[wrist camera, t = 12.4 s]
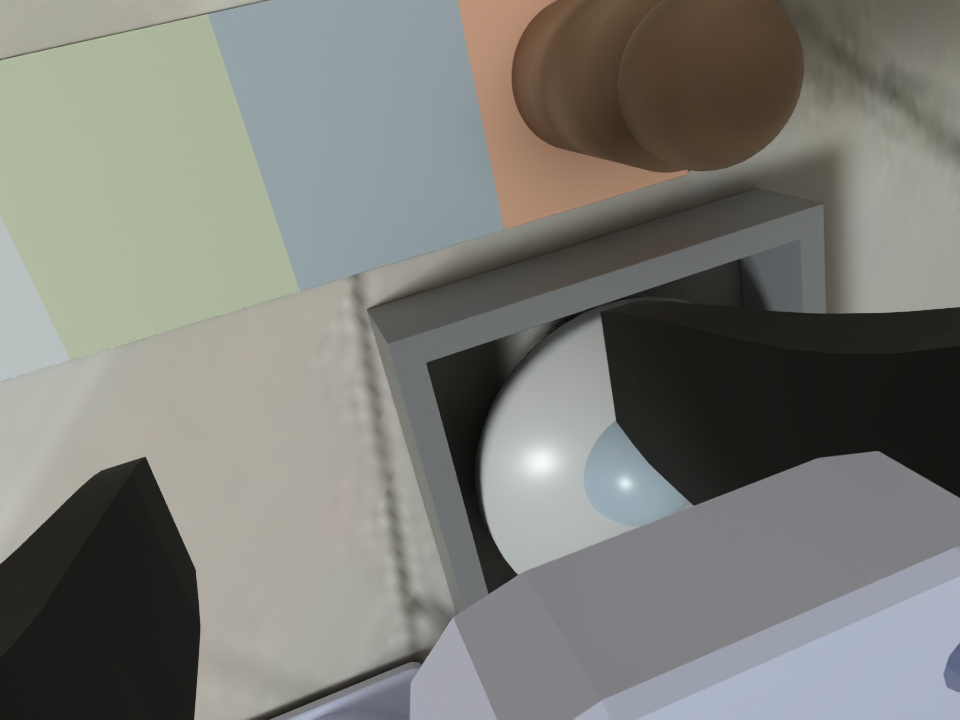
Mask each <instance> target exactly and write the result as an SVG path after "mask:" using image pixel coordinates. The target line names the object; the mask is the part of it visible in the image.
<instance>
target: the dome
mask: <svg viewBox="0 0 960 720" xmlns="http://www.w3.org/2000/svg"><path fill="white" fill-rule="evenodd" d="M651 300H652V301H672V302H684V303H691V302H688V301H685V300H680V299H674V298H668V297H638V298H630V299H624V300H620V301H616V302H612V303H609V304H605V305H602V306H600V307H597V308H595V309H592V310H590V311H587V312H585V313H583V314H581V315H579V316H577V317H576V318H574V319H572V320H570V321H568V322H567V323H565V324H563V325H562V326H561V327H559V328H558V329H556V330H555V331H554V332H552V333H551V334H549V335H548V336H547V337H545V338H544V339H543V340H542V341H541V342H540V343H539V344H538V345H536V346H535V347H534V348H533V349H532V350H531V351H530V352H529V353H528V354H527V355H526V356H525V357H524V359H523V360H522V361H521V362H520V363H519V364H518V365H517V366H516V368H515V369H514V370H513V371H512V373H511V374H510V376H509V377H508V379H507V380H506V382H505V383H504V384H503V386H502V387H501V389H500V391H499V393H498V394H497V396H496V398H495V400H494V402H493V404H492V406H491V408H490V410H489V413H488V415H487V418H486V420H485V423H484V425H483V428H482V432H481V436H480V440H479V444H478V448H477V456H476V465H475V483H476V493H477V499H478V504H479V508H480V511H481V514H482V517H483V520H484V523H485V525H486V527H487V529H488V531H489V532H490V534H491V536H492V538H493V540H494V541H495V543H496V545H497V547H498V548H499V550H500V552H501V554H502V555H503V557H504V558H505V560H506V561H507V562H508V563H509V565H510V566H511V567H512V569H513V570H514V571H515V572H516V573H517V574H518V575H519V574H521V573H522V572H524V571H527V570H529V569H532V568H534V567H537V566H540V565H542V564H545V563H547V562H550V561H553V560H555V559H558V558H560V557H563V556H566V555H568V554H571V553H573V552H576V551H579V550H581V549H584V548H586V547H589V546H591V545H594V544H597V543H599V542H602V541H604V540H607V539H610V538H612V537H615V536H617V535H620V534H623V533H625V532H628V531H630V530H633V529H636V528H638V527H641V526H643V525H646V524H649V523H651V522H654V521H656V520H659V519H661V518H664V517H667V516H669V515H672V514H674V513H677V512H680V511H682V510H685V509H687V508H690V507H693V505H692V504H691V503H690V502H689V501H688V500H687V499H686V498H685V497H684V496H682V495H681V494H680V493H679V492H678V491H677V490H676V489H675V488H674V487H673V486H672V485H671V484H670V483H669V482H668V481H666V480H665V479H664V478H663V477H662V476H661V475H660V474H659V473H658V472H657V471H656V470H655V469H654V468H653V467H652V466H651V465H650V464H649V463H648V462H647V461H646V460H645V458H644V457H643V456H642V455H641V454H640V452H639V451H638V450H637V449H636V447H635V446H634V445H633V444H632V442H631V441H630V440H629V438H628V437H627V436H626V434H625V433H624V432H623V430H622V429H621V427H620V426H619V425H618V423H617V422H616V417H615V410H614V403H613V396H612V389H611V383H610V376H609V369H608V362H607V355H606V348H605V342H604V335H603V328H602V321H601V314H600V312H602V311H606V310H609V309H612V308H615V307H618V306H621V305H625V304H628V303H631V302H634V301H651Z"/></svg>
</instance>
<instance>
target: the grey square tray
mask: <svg viewBox="0 0 960 720" xmlns="http://www.w3.org/2000/svg"><path fill="white" fill-rule="evenodd" d="M738 259H739V260H740V273H741V287H742V300H743V309H755V310H767V311H782V312H799V313H826V284H825V245H824V207H823V203H818V202H814V201H810V200H805V199H801V198H797V197H792V196H788V195H784V194H779V193H775V192H771V191H766V190H762V189H758V188H756V189H753V190H749V191H746V192H743V193H740V194H737V195H733V196H730V197H727V198H724V199H721V200H717V201H714V202H711V203H708V204H704V205H701V206H698V207H695V208H692V209H688V210H685V211H682V212H679V213H676V214H672V215H669V216H666V217H663V218H659V219H656V220H653V221H650V222H647V223H643V224H640V225H637V226H634V227H631V228H627V229H624V230H621V231H618V232H615V233H611V234H608V235H605V236H602V237H598V238H595V239H592V240H589V241H586V242H582V243H579V244H576V245H573V246H570V247H566V248H563V249H560V250H557V251H554V252H550V253H547V254H544V255H541V256H537V257H534V258H531V259H528V260H525V261H521V262H518V263H515V264H512V265H509V266H505V267H502V268H499V269H496V270H492V271H489V272H486V273H483V274H480V275H476V276H473V277H470V278H467V279H464V280H460V281H457V282H454V283H451V284H448V285H444V286H441V287H438V288H435V289H431V290H428V291H425V292H422V293H419V294H415V295H412V296H409V297H406V298H403V299H399V300H396V301H393V302H390V303H386V304H383V305H380V306H377V307H374V308H370V309H367V312H368V315H369V319H370V322H371V325H372V329H373V332H374V336H375V339H376V342H377V346H378V349H379V353H380V356H381V359H382V363H383V366H384V369H385V373H386V376H387V380H388V383H389V386H390V390H391V393H392V397H393V400H394V403H395V407H396V410H397V413H398V417H399V420H400V424H401V427H402V430H403V434H404V437H405V441H406V444H407V447H408V451H409V454H410V457H411V461H412V464H413V468H414V471H415V474H416V478H417V481H418V484H419V488H420V491H421V495H422V498H423V501H424V505H425V508H426V512H427V515H428V518H429V522H430V525H431V528H432V532H433V535H434V539H435V542H436V545H437V549H438V552H439V556H440V559H441V562H442V566H443V569H444V572H445V576H446V579H447V583H448V586H449V589H450V593H451V596H452V600H453V603H454V606H455V610H456V613H457V614H459V613H460V612H462V611H464V610H465V609H467V608H468V607H470V606H471V605H473V604H474V603H476V602H477V601H479V600H481V599H482V598H484V597H485V596H487V595H488V591H487V587H486V584H485V580H484V576H483V572H482V569H481V565H480V561H479V558H478V554H477V550H476V546H475V543H474V539H473V535H472V532H471V528H470V524H469V520H468V517H467V513H466V509H465V506H464V502H463V498H462V494H461V491H460V487H459V483H458V480H457V476H456V472H455V468H454V465H453V461H452V457H451V454H450V450H449V446H448V442H447V439H446V435H445V431H444V428H443V424H442V420H441V416H440V413H439V409H438V405H437V402H436V398H435V394H434V390H433V387H432V383H431V379H430V375H429V372H428V368H427V364H426V362H429V361H433V360H436V359H439V358H442V357H445V356H448V355H451V354H454V353H457V352H460V351H463V350H466V349H469V348H472V347H475V346H478V345H481V344H484V343H487V342H490V341H493V340H496V339H499V338H502V337H505V336H508V335H511V334H514V333H517V332H520V331H523V330H526V329H529V328H532V327H535V326H538V325H541V324H544V323H547V322H550V321H553V320H556V319H559V318H563V317H566V316H569V315H572V314H575V313H578V312H581V311H584V310H587V309H590V308H593V307H596V306H599V305H602V304H605V303H608V302H611V301H614V300H617V299H620V298H623V297H626V296H629V295H632V294H635V293H638V292H641V291H644V290H647V289H650V288H653V287H656V286H659V285H662V284H665V283H668V282H671V281H674V280H677V279H680V278H683V277H686V276H689V275H692V274H696V273H699V272H702V271H705V270H708V269H711V268H714V267H717V266H720V265H723V264H726V263H729V262H732V261H735V260H738Z"/></svg>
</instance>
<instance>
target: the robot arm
mask: <svg viewBox="0 0 960 720" xmlns="http://www.w3.org/2000/svg"><path fill="white" fill-rule="evenodd" d="M600 314H601V321H602V328H603V335H604V342H605V348H606V355H607V362H608V369H609V376H610V383H611V389H612V396H613V403H614V410H615V417H616V422H617V423H618V425H619V426H620V427H621V429H622V430H623V432H624V433H625V434H626V436H627V437H628V438H629V440H630V441H631V442H632V444H633V445H634V446H635V447H636V449H637V450H638V451H639V452H640V454H641V455H642V456H643V457H644V458H645V460H646V461H647V462H648V463H649V464H650V465H651V466H652V467H653V468H654V469H655V470H656V471H657V472H658V473H659V474H660V475H661V476H662V477H663V478H664V479H665V480H666V481H668V482H669V483H670V484H671V485H672V486H673V487H674V488H675V489H676V490H677V491H678V492H679V493H680V494H681V495H682V496H684V497H685V498H686V499H687V500H688V501H689V502H690V503H691V504H692V505H693V507H690V508H687V509H685V510H682V511H680V512H677V513H674V514H672V515H669V516H667V517H664V518H661V519H659V520H656V521H654V522H651V523H649V524H646V525H643V526H641V527H638V528H636V529H633V530H630V531H628V532H625V533H623V534H620V535H617V536H615V537H612V538H610V539H607V540H604V541H602V542H599V543H597V544H594V545H591V546H589V547H586V548H584V549H581V550H579V551H576V552H573V553H571V554H568V555H566V556H563V557H560V558H558V559H555V560H553V561H550V562H547V563H545V564H542V565H540V566H537V567H534V568H532V569H529V570H527V571H524V572H522V573H521V574H519V575H518V576H516V577H515V578H513V579H512V580H510V581H508V582H507V583H505V584H504V585H502V586H501V587H499V588H498V589H496V590H495V591H493V592H491V593H490V594H488V595H487V596H485V597H484V598H482V599H481V600H479V601H477V602H476V603H474V604H473V605H471V606H470V607H468V608H467V609H465V610H464V611H462V612H460V613H459V614H457V615H456V616H454V617H453V618H452V620H451V621H450V623H449V624H448V626H447V627H446V629H445V630H444V632H443V634H442V635H441V637H440V638H439V640H438V641H437V643H436V644H435V646H434V648H433V649H432V651H431V652H430V654H429V655H428V657H427V658H426V660H425V661H424V663H423V665H422V664H421V663H419V662H410V663H407V664H404V665H402V666H399V667H397V668H394V669H392V670H389V671H387V672H385V673H382V674H380V675H377V676H375V677H372V678H370V679H368V680H365V681H363V682H360V683H358V684H355V685H353V686H351V687H348V688H346V689H343V690H341V691H338V692H336V693H333V694H331V695H329V696H326V697H324V698H321V699H319V700H316V701H314V702H312V703H309V704H307V705H304V706H302V707H299V708H297V709H294V710H292V711H290V712H287V713H285V714H282V715H280V716H277V717H275V718H273V719H270V720H960V307H957V308H945V309H933V310H921V311H910V312H892V313H846V314H826V313H799V312H782V311H767V310H755V309H743V308H733V307H723V306H714V305H704V304H694V303H684V302H672V301H652V300H651V301H634V302H631V303H628V304H625V305H621V306H618V307H615V308H612V309H609V310H606V311H602V312H600ZM199 644H200V614H199V600H198V590H197V580H196V570H195V567H194V565H193V563H192V561H191V558H190V556H189V554H188V552H187V549H186V547H185V545H184V543H183V540H182V538H181V536H180V534H179V531H178V529H177V527H176V525H175V522H174V520H173V518H172V516H171V513H170V511H169V509H168V506H167V504H166V502H165V500H164V497H163V495H162V493H161V491H160V488H159V486H158V484H157V482H156V479H155V477H154V475H153V473H152V470H151V468H150V466H149V464H148V461H147V459H146V457H143V458H140V459H137V460H133V461H130V462H127V463H124V464H121V465H118V466H115V467H111V468H108V469H105V470H102V471H100V472H99V473H97V474H96V475H94V476H93V477H92V478H91V479H89V480H88V481H87V482H86V483H85V484H84V485H83V486H82V487H80V488H79V489H78V490H77V491H76V492H75V493H74V494H73V495H72V496H71V497H70V498H69V499H68V500H67V501H66V502H65V503H64V504H63V505H62V506H61V507H60V508H59V509H58V510H57V511H56V512H55V513H54V514H53V515H52V516H51V517H50V518H49V519H48V520H47V521H46V522H45V523H43V524H42V525H41V526H40V527H39V528H38V529H37V530H36V531H35V532H34V533H33V534H32V535H31V536H30V537H29V538H28V539H27V540H26V541H25V542H24V543H23V544H22V545H21V546H20V547H19V548H18V549H17V550H16V551H15V552H13V553H12V554H11V555H10V556H9V557H8V558H7V559H6V560H5V561H4V562H2V563H1V564H0V720H194V713H195V700H196V687H197V674H198V659H199Z"/></svg>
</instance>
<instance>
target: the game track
mask: <svg viewBox="0 0 960 720" xmlns="http://www.w3.org/2000/svg"><path fill="white" fill-rule="evenodd" d="M555 1H557V0H268V1H264V2H259V3H255V4H250V5H246V6H242V7H237V8H233V9H228V10H224V11H219V12H215V13H210V14H206V15H201V16H197V17H192V18H188V19H183V20H179V21H174V22H170V23H165V24H161V25H156V26H152V27H147V28H143V29H138V30H134V31H129V32H125V33H120V34H116V35H111V36H107V37H102V38H98V39H93V40H89V41H84V42H80V43H75V44H71V45H66V46H62V47H57V48H53V49H48V50H44V51H39V52H35V53H30V54H26V55H21V56H17V57H12V58H8V59H3V60H0V381H3V380H6V379H10V378H13V377H16V376H20V375H23V374H26V373H30V372H33V371H36V370H40V369H43V368H46V367H50V366H53V365H56V364H60V363H63V362H66V361H70V360H73V359H76V358H80V357H83V356H86V355H90V354H93V353H96V352H99V351H103V350H106V349H109V348H113V347H116V346H119V345H123V344H126V343H129V342H133V341H136V340H139V339H143V338H146V337H149V336H153V335H156V334H159V333H163V332H166V331H169V330H173V329H176V328H179V327H183V326H186V325H189V324H193V323H196V322H199V321H202V320H206V319H209V318H212V317H216V316H219V315H222V314H226V313H229V312H232V311H236V310H239V309H242V308H246V307H249V306H252V305H256V304H259V303H262V302H266V301H269V300H272V299H276V298H279V297H282V296H286V295H289V294H292V293H295V292H299V291H302V290H305V289H309V288H312V287H315V286H319V285H322V284H325V283H329V282H332V281H335V280H339V279H342V278H345V277H349V276H352V275H355V274H359V273H362V272H365V271H369V270H372V269H375V268H379V267H382V266H385V265H389V264H392V263H395V262H398V261H402V260H405V259H408V258H412V257H415V256H418V255H422V254H425V253H428V252H432V251H435V250H438V249H442V248H445V247H448V246H452V245H455V244H458V243H462V242H465V241H468V240H472V239H475V238H478V237H482V236H485V235H488V234H492V233H495V232H498V231H501V230H505V229H508V228H511V227H515V226H518V225H521V224H525V223H528V222H531V221H535V220H538V219H541V218H545V217H548V216H551V215H555V214H558V213H561V212H565V211H568V210H571V209H575V208H578V207H581V206H585V205H588V204H591V203H594V202H598V201H601V200H604V199H608V198H611V197H614V196H618V195H621V194H624V193H628V192H631V191H634V190H638V189H641V188H644V187H648V186H651V185H654V184H658V183H661V182H664V181H668V180H671V179H674V178H678V177H681V176H684V175H688V170H683V171H678V172H671V173H660V172H652V171H648V170H644V169H640V168H636V167H632V166H628V165H624V164H620V163H616V162H612V161H608V160H604V159H600V158H596V157H592V156H588V155H584V154H580V153H576V152H573V151H569V150H565V149H561V148H557V147H554V146H552V145H550V144H548V143H546V142H544V141H543V140H541V139H540V138H539V137H537V136H536V135H535V134H534V133H533V132H532V131H531V130H530V129H529V128H528V126H527V125H526V123H525V122H524V121H523V119H522V117H521V115H520V113H519V111H518V109H517V106H516V103H515V100H514V95H513V90H512V63H513V58H514V54H515V50H516V47H517V44H518V42H519V39H520V38H521V36H522V34H523V32H524V30H525V29H526V27H527V26H528V24H529V23H530V22H531V20H532V19H533V18H534V17H535V16H536V15H537V14H538V13H539V12H540V11H541V10H542V9H544V8H545V7H547V6H548V5H550V4H551V3H553V2H555Z"/></svg>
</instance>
